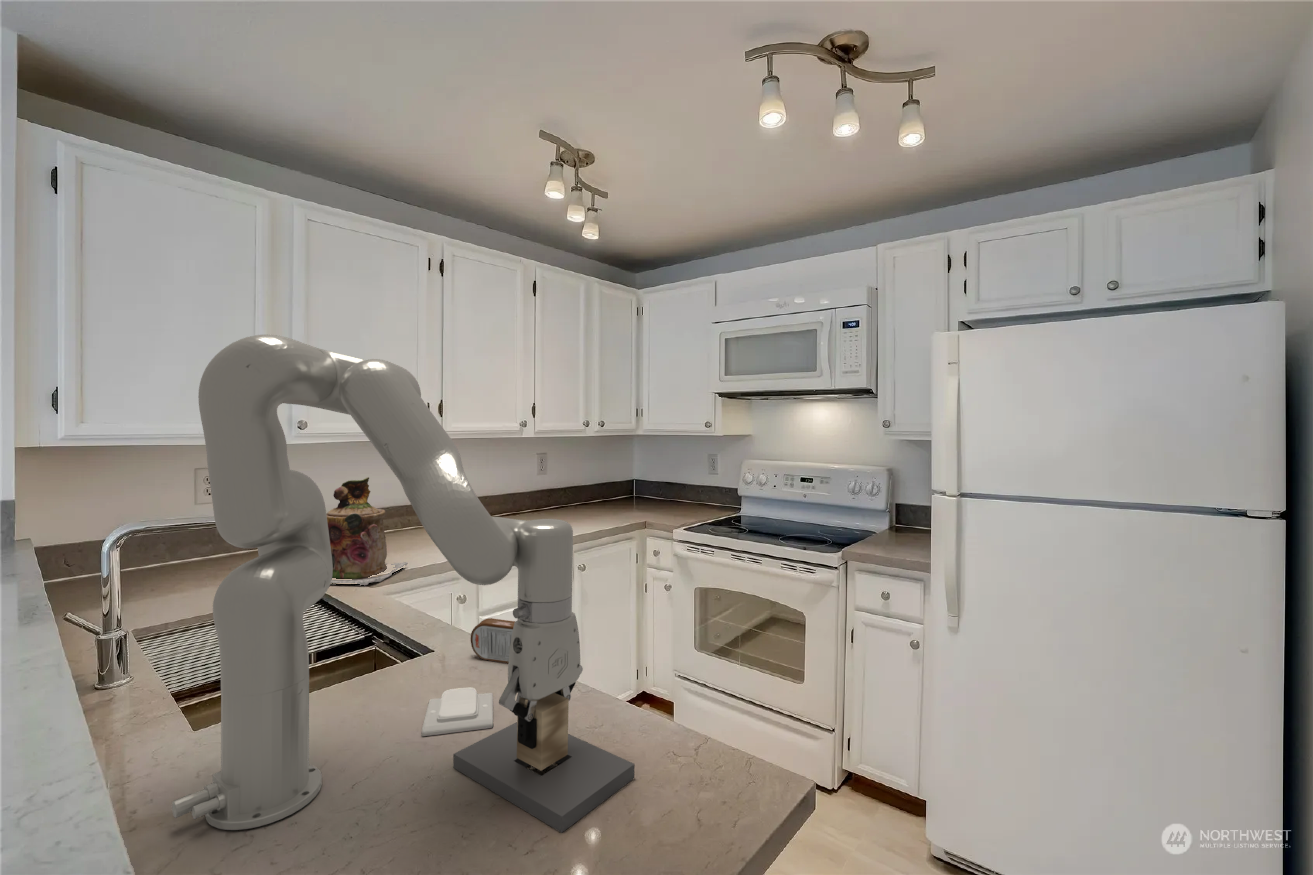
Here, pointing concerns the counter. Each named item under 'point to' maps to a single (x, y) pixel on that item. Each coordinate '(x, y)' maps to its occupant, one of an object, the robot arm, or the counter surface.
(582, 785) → the grey plate with hole
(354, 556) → the cookie jar
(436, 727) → the light switch
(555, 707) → the beige rectangular block
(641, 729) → the counter surface
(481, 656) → the tin
